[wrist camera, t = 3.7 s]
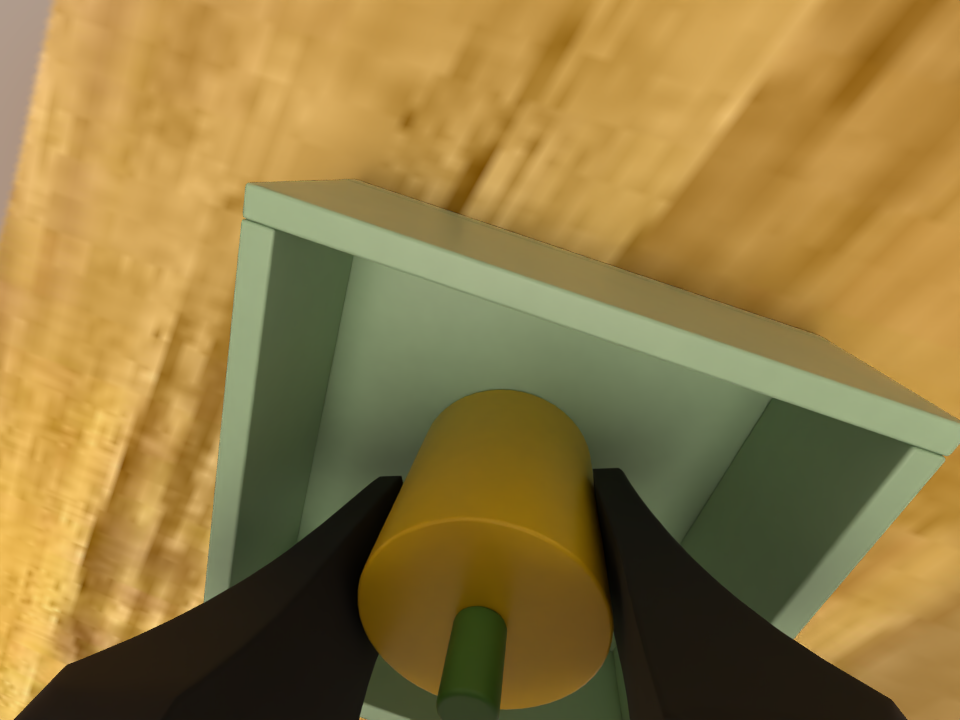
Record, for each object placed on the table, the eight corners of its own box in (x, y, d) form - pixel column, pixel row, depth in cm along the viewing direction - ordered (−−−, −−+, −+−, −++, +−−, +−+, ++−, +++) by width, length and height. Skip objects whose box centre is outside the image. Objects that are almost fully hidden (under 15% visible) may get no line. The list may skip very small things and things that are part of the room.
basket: (619, 651, 16) (643, 817, 12) (287, 535, 17) (196, 660, 12) (820, 336, 12) (975, 428, 7) (353, 178, 12) (244, 180, 8)
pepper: (527, 557, 15) (510, 843, 8) (394, 477, 14) (273, 715, 8) (627, 450, 13) (701, 713, 7) (479, 355, 12) (407, 540, 6)
